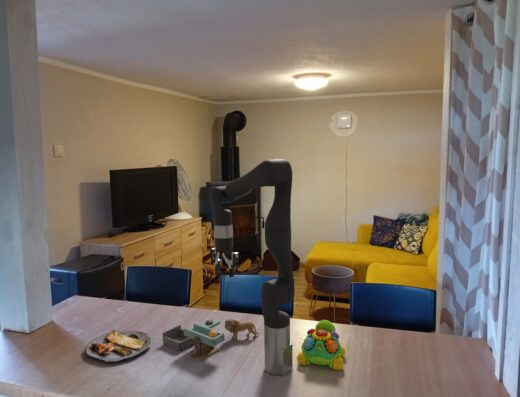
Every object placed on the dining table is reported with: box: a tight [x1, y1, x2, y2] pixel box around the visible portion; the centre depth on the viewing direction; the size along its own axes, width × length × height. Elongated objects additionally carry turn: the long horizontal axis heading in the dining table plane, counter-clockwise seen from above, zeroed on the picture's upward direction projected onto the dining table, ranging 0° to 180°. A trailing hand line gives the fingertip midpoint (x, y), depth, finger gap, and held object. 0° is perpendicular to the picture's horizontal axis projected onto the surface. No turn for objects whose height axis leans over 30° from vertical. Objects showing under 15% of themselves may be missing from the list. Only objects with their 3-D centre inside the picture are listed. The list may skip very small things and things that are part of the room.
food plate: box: [84, 329, 153, 363], centre depth 165 cm, size 25×23×4 cm
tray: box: [162, 324, 194, 352], centre depth 168 cm, size 10×9×5 cm
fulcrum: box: [189, 337, 220, 362], centre depth 159 cm, size 6×10×8 cm, turn 142°
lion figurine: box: [224, 318, 260, 341], centre depth 172 cm, size 15×5×9 cm, turn 107°
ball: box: [209, 330, 217, 338], centre depth 156 cm, size 3×3×3 cm
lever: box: [183, 318, 226, 347], centre depth 163 cm, size 16×16×3 cm
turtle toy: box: [296, 319, 346, 371], centre depth 155 cm, size 17×23×12 cm
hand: (224, 275), depth 168 cm, fingers open, 6 cm apart
